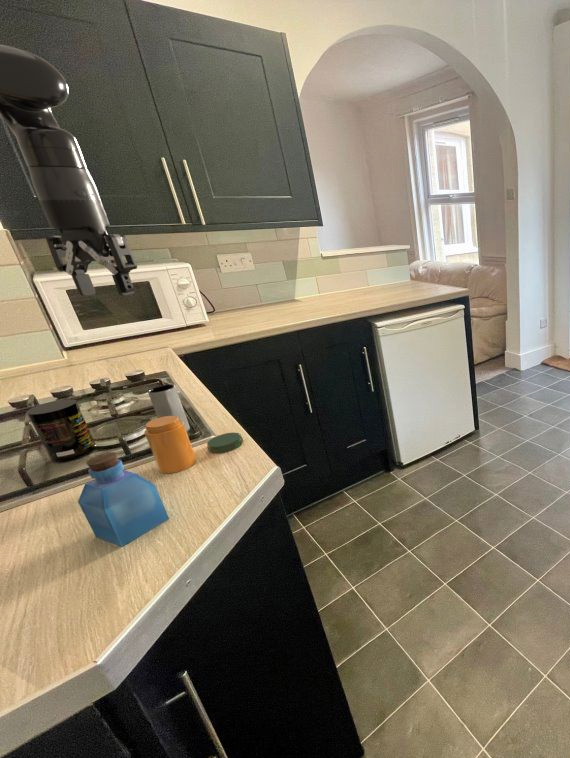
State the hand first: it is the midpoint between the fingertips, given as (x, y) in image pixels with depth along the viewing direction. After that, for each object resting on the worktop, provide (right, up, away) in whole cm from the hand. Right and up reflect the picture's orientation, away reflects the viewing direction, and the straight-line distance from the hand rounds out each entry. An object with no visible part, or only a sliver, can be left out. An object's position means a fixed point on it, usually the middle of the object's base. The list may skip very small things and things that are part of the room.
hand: (107, 295), depth 77 cm
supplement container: (-13, -30, +6) cm, 34 cm away
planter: (+2, -27, +14) cm, 30 cm away
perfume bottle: (+18, -38, -14) cm, 44 cm away
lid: (+16, -28, +7) cm, 33 cm away
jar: (+12, -32, +2) cm, 34 cm away
